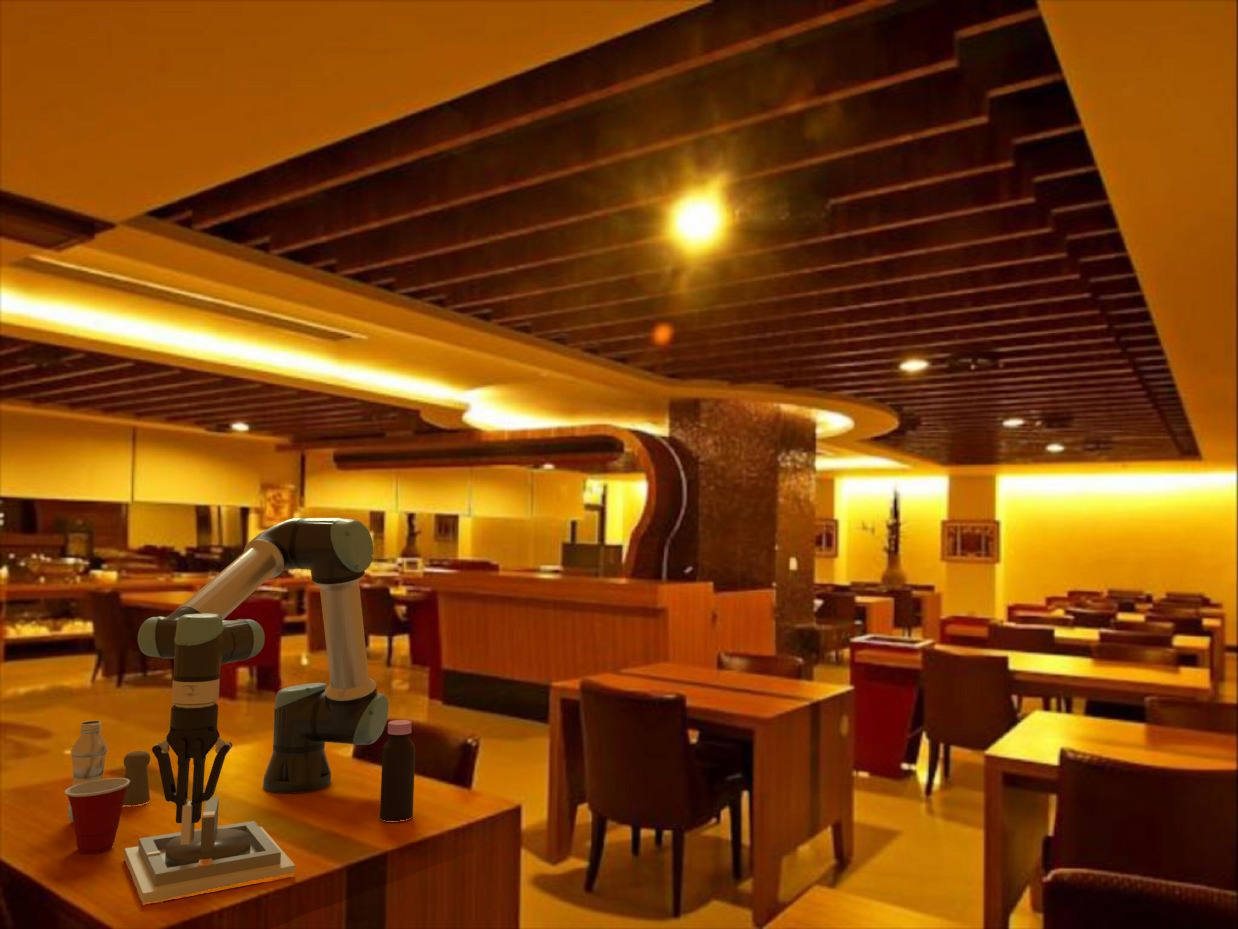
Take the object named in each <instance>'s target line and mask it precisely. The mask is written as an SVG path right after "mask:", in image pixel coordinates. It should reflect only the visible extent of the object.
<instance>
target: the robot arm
mask: <svg viewBox="0 0 1238 929" xmlns="http://www.w3.org/2000/svg"><path fill="white" fill-rule="evenodd" d="M373 554H374V543H373V538H372V535H371V533H370V530H369V529H368V528H367V526H366V525H365V524H364V523H363V522H361V521H360V520H357V519H349V518H345V517H294V518H290V519H287V520H284V521H281V522H279V523H277V524H275V525H273V526H271V527H269V528H267V529H265V530H264V531H262V532H261V533H259V534H258V535H256V536H255V537H254V538H253V539H251V540H250V541H248V543H247V544H246V545H245V547H244V548H243V552H242V554H240V555H239V556H238V557H237V558H236V559H234V560H233V561H232V562H231V563H230V564H229V565H227V566H226V567H225V568H224V569H223V570H222V571H221V572H219V573H218V574H217V575H215V576H214V577H213V578H211V580H209V581H208V582H207V583H206V584H204V585H203V586H202V587H201V588H200V589H199V590H197V591H196V593H194V594H193V595H192V596H190V597H189V598H188V599H187V600H186V601H185V602H183V603H182V604H181V605H180V606H179V607H177V608H176V609H175V610H174V611H172V612H171V613H170V614H169V615H168V616H164V615H161V616H152V617H149V618H147V619H146V620H144V621H143V623H141V626H140V627H139V630H138V633H137V644H138V648H139V650H140V651H141V653H143V654H144V655H145V656H147V657H148V656H149V657H153V658H155V657H156V658H160V659H173V664H174V665H173V675H172V676H173V677H172V689H171V690H172V691H171V702H172V704H174V705H172V707H171V709H170V722H169V723H170V724H169V731H168V733H167V735H166V738H165V739H164V740H163V741H161V742H158V743H156V744H155V745H153V747H152V748H151V752H152V753H153V755H154V757H155V758H156V759H157V763H158V769H159V773H160V779H161V785H162V789H163V794H164V800H165V801H166V802H172V803H174V804H175V806H176V809H175V811H176V812H175V822H176V824H180V825H181V828H180V832H181V842H180V844H190V843H191V842H192V841H193V839H194V830H195V825H196V824H197V823H199V822H200V820H202V807H203V806H202V805H203V802H206V801H208V800H209V799H210V798H213V796H214V795H215V791H216V788H217V785H218V782H219V779H220V776H221V773H222V769H223V766H224V762H225V758H226V756H227V754H228V753H229V752H230V750H231V749H232V748H233V743H232V742H231V741H228V742H227V741H225V740H224V739H223V738H221V735H220V733H219V731H218V717H219V716H218V715H219V705H218V704H217V701H218V700H219V698H220V682H221V681H220V680H221V679H220V677H221V665H225V664H230V663H234V662H238V661H240V662H244V661H245V660H248V659H250V658H253V657H256V656H257V655H258V654H260V652H261V651H262V650H263V648H264V645H265V640H266V639H265V638H266V637H265V631H264V629H263V627H262V626H261V625H260V623H258V621H255V620H253V619H250V618H247V619H245V618H237V619H236V620H235V619H234V620H226V619H225V618H227V617H228V616H229V615H230V614H231V613H232V612H233V611H235V609H237V608H238V607H239V606H240V605H241V604H242V603H243V602H244V601H245V600H246V599H248V598H249V596H251V595H252V594H253V593H254V592H255V591H256V590H257V589H258V588H259V587H260V586H262V585H263V584H264V583H265V582H266V581H267V580H268V579H274V578H276V577H278V576H279V575H280V574H283V572H284V571H285V572H286V571H288V570H309V571H310V575H311V576H310V577H311V582H312V583H313V584H315V585H316V586H317V587H319V593H320V602H321V610H322V620H323V627H324V628H323V629H324V637H325V647H326V655H327V656H326V657H327V664H328V674H329V681H330V682H329V684H327V683H325V682H324V683H323V682H313V683H312V682H311V683H304V684H297V685H293V686H292V685H291V686H287V687H284V688H282V689H280V690H278V691H277V693H276V696H275V699H274V707H273V710H274V711H273V712H274V714H273V715H274V716H273V734H272V735H273V739H272V743H273V744H272V754H271V757H270V759H269V762H268V765H267V767H266V770H265V773H264V775H263V782H262V783H263V785H262V787H263V789H264V790H265V791H268V792H271V793H277V794H301V793H310V792H314V791H318V790H322V789H325V788H326V787H328V786H330V785H331V784H332V783H331V782H332V772H331V768H330V763H329V761H328V757H327V754H326V749H325V746H326V745H325V744H326V743H334V744H346V745H348V744H349V745H353V746H358V745H361V746H363V745H364V746H367V745H371V744H374V743H375V742H377V741H378V740H379V738H380V737H381V735H382V734H383V732H384V729H385V727H386V725H387V721H388V716H389V706H390V705H389V704H390V703H389V699H388V697H387V696H386V694H383V693H378V689H377V688H378V687H377V683H376V680H374V679H372V678H371V677H370V676H369V669H368V668H369V667H368V666H369V665H368V656H367V648H366V638H365V629H364V618H363V609H362V599H361V589H360V582H361V580H362V579H364V576H365V575H366V571H367V569H369V567H370V566H371V564H372V561H373ZM214 746H215V749H214V750H215V753H216V755H215V757H214V760H213V763H212V766H211V770H210V773H209V776H208V780H207V783H206V786H205V789H204V785H205V783H204V782H205V768H206V767H205V766H206V760H207V754H209V753H210V751H211V750H212V748H214ZM170 748H171V750H172V751H173V753H175V756H176V757H177V763H176V764H177V775H176V777H177V780H176V782H175V777H174V772H173V767H172V762H171V757H170V754H169V752H170ZM191 759H193V762H192V765H193V772H192V775H193V776H192V790H191V792H192V793H191V794H192V795H191V800H188V799H189V793H188V792H189V777H190V762H191Z"/></svg>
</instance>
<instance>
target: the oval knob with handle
mask: <svg viewBox="0 0 1238 929" xmlns="http://www.w3.org/2000/svg"><path fill="white" fill-rule="evenodd" d="M219 804H220V797H211V798H210V799H209V800H208V801H205V805H204V810H203V813H202V815H201V828H200V829H201V830H200V831H194V839H193V841H192V842H191V843H190V844H180V842H181V835H180V836H178V837H175V838H173V839H172V840H170V841H169V842H168V843H167V844H166V852H165V862H166V864H168V865H169V866H171V867H176V866H182V865H187V864H193V863H199V860H201V859H212V860H216V859H222V858H228V857H234V856H240V855H245V854H249V853H250V848H251V836H250V834H249V833H247V832H245V831H242V830H237V829H223V828H222V829H217V827H218V826H219V825H218V823H219V807H220V805H219Z"/></svg>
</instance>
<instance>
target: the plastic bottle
mask: <svg viewBox="0 0 1238 929" xmlns="http://www.w3.org/2000/svg"><path fill="white" fill-rule="evenodd" d="M101 731H103V730H102V721H100V720H88V721H82V722H81V724H80V729H79V734H80V736H79V737H78V739H77V740H76V741H74V744H73V745H72V747H71V749H70V751H71V752H70V753H71V763H72V786H75V785H78V784H81V783H85V782H89V781H94V780H100V779H104V769H105V763H106V758H107V752H108V744H107V741H106V740H105V738H104V737H103V736H102V734H101ZM67 814H68V819H69V821H70V822H71V823H73V816H72V809H71V806H70V802H69V804H68V808H67Z"/></svg>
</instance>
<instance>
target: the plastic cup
mask: <svg viewBox="0 0 1238 929" xmlns="http://www.w3.org/2000/svg"><path fill="white" fill-rule="evenodd" d="M129 784H130V780H129V779H126V778H124V777H110V778H108V777H107V778H103V779H100V780H94V781H89V782H85V783H81V784H78V785H75V786H73V785H72V786H70V787H67V789H65V790H64V794H65V795H66V796H67V798H68V801H69V803H70V806H71V809H72V816H73V822H72V823H73V829H74V830H73V831H74V834H75V839H76V847H77V851H78V852H79V853H81V854H84V855H85V854H89V855H90V854H91V855H92V854H98V853H103V852H106V851H109V850H111V849H112V848H113V847H112V846H114V843H115V841H116V837H117V832H118V829H119V826H120V819H121V814H122V810H123V807H122V806H123V802H124V799H125V794H126V791H127V787H128V785H129Z"/></svg>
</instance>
